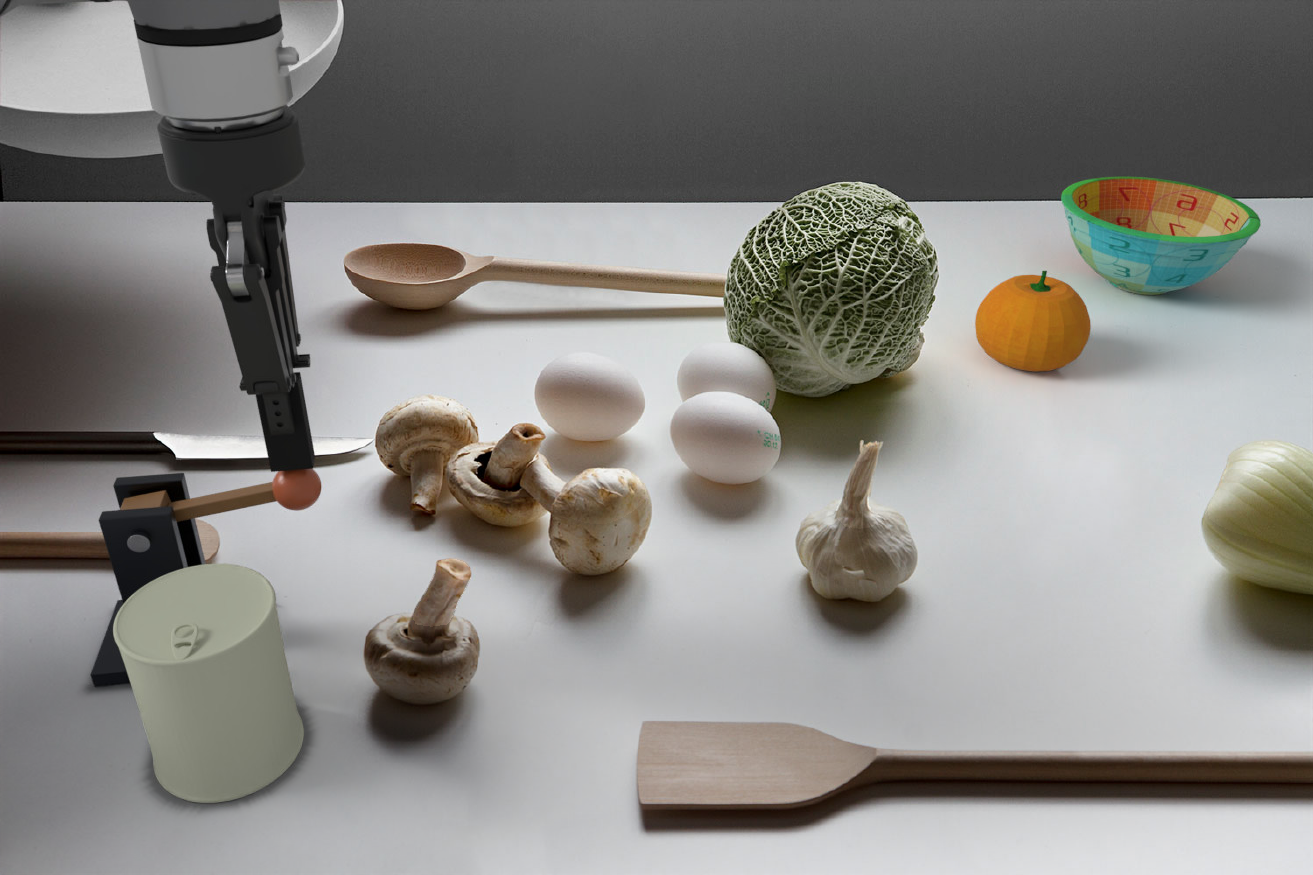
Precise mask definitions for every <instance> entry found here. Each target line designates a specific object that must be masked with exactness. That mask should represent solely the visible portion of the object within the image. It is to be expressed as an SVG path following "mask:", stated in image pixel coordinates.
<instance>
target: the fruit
mask: <svg viewBox="0 0 1313 875" xmlns="http://www.w3.org/2000/svg"><path fill="white" fill-rule="evenodd" d="M1047 273H1048V270H1042V271H1041V275H1039V274H1021V275H1015V276H1013V277H1010V278H1008V279H1006V280H1004V281H1002V282H1000V283H999V284H997V285H996V286H994V287H993V288H992V289H991V290H990V291H989V292H988V293H987V294H986V295H985V297H984V298H983V299H982V301H981V302H980V304H979V306H978V308H977V310H976V314H975V321H974V325H975V336H976V339H977V342H978V344H979V346H980V347H981V348H982V350H983V351H984V353H986V355H988V356H989V357H990V358H992V359H993V360H995V361H996V362H998V363H999V364H1002V365H1004V366H1006V367H1009V368H1012V369H1016V370H1020V371H1026V372H1049V371H1054V370H1058V369H1062V368H1064V367H1066V366H1067V365H1069V364H1071V363H1073V362H1074V361H1076V360H1077V359H1078V358H1079V357H1080V355H1081V354H1082V353H1083V350H1084V349H1085V347H1086V345H1087V344H1088V341H1089V338H1090V336H1091V329H1092V326H1091V319H1090V318H1091V317H1090V314H1089V311H1088V307H1087V305H1086V303H1085V301H1084V300H1083V298H1082V297H1081V295H1080V294H1079V293H1078V292H1077V291H1076V290H1075V288H1073V287H1072V286H1071V285H1070V284H1068V282H1067V283H1066V282H1064V281H1063V280H1060V279H1057V278H1054V277H1050V276H1047Z"/></svg>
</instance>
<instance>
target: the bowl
mask: <svg viewBox="0 0 1313 875" xmlns="http://www.w3.org/2000/svg"><path fill="white" fill-rule="evenodd" d="M1060 196H1061V197H1060V198H1061V199H1060V200H1061V204H1062V206H1063V208H1064V216H1065V219H1066V221H1067V223H1068V228H1069V232H1070V237H1071V239H1072V241H1073V244H1074V246H1075V248H1076V250H1077V252H1078V253H1079V254H1080V257H1081V258H1082V259H1083V261H1084V262H1085V263H1086V264H1087V266H1089V267H1090V268H1091V269H1092V270H1093V271H1094V272H1095V273H1096V274H1098V275H1099V276H1101V277H1102V278H1103V279H1105V280H1106V281H1108V282H1109V283H1110V285H1112V286H1114V287H1115V288H1117V289H1120V290H1122V291H1125V292H1128V293H1133V294H1138V295H1145V296H1146V295H1147V296H1156V295H1163V294H1166V293H1168V292H1173V291H1178V290H1182V289H1185V288H1188V287H1191V286H1194V285H1196V284H1198V283H1200V282H1203V281H1204V280H1206V279H1208V278H1209V277H1212V276H1213V275H1214V274H1216V273H1217V272H1218V271H1220V270H1221V269H1222V268H1223V267H1224V266H1226V265H1227V264H1228V263H1229V262H1230V261H1231V260H1232V259H1233V258H1234V256H1235V255H1236V254H1237V253H1238V252H1239V250H1240V249H1242V248H1243V247H1244V246H1246V244H1247V242H1248V241H1249V240H1250V239H1251V237H1253V235H1255V234H1256V233H1257V232H1258V231H1259V229H1260V228H1261V218H1260V216H1259V214H1258V213H1257V212H1256V211H1254V209H1253V208H1252V207H1250V206H1248V205H1247V204H1245V203H1243V202H1242V201H1240V200H1238V199H1236V198H1235V197H1234V198H1233V197H1231V196H1229V195H1227V194H1224V193H1222V192H1219V191H1216V190H1213V189H1210V188H1206V187H1203V186H1200V185H1195V184H1191V183H1186V182H1181V181H1175V180H1170V179H1161V178H1154V177H1145V176H1103V177H1096V178H1088V179H1085V180H1080V181H1078V182H1074V183H1072V184H1070V185H1069V186H1067V187H1066V188H1065V189H1064V190H1063V191H1062V193H1061V195H1060Z"/></svg>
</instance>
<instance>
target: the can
mask: <svg viewBox="0 0 1313 875" xmlns="http://www.w3.org/2000/svg"><path fill="white" fill-rule="evenodd" d="M113 634H114V639H115V642H116V643H117V645H118V647H119V650H120V653H121V656H122V658H123V661H124V664H125V667H126V670H127V673H128V677H129V680H130V683H131V684H130V686H131V689H132V692H133V695H134V698H135V702H136V704H137V707H138V711H139V715H140V718H141V721H142V725H143V728H144V731H145V734H146V738H147V741H148V744H149V748H150V751H151V755H152V761H153V762H152V765H153V766H152V767H153V771H154V774H155V775H154V776H155V777H156V779H157V781H158V783H159V784H160V785H161V787H162V788H163V789H164V790H165V791H167V792H168V793H169V794H171V795H173V796H174V797H177V798H178V799H182V800H185V801H188V802H191V803H199V804H200V803H201V804H215V803H217V804H218V803H223V802H229V801H234V800H237V799H240V798H244V797H246V796H249V795H251V794H254V793H256V792H258V791H260V790H262V789H264V788H266V787H267V786H269V785H270V784H272V783H273V782H275V781H276V780H277V779H278V778H280V777H281V776H282V775H283V774H284V773H285V772H286V771H287V770H288V769H289V768H290V767H291V765H293V763H294V762H295V761H296V759H297V757H298V756H299V753H300V751H301V749H302V746H303V742H304V737H305V736H304V735H305V728H304V727H305V726H304V723H303V720H302V717H301V715H300V713H299V711H298V706H297V702H296V699H295V694H294V689H293V685H292V679H291V675H290V670H289V664H288V661H287V660H288V659H287V655H286V650H285V646H284V641H283V636H282V630H281V625H280V618H279V613H278V609H277V596H276V592H275V589H274V587H273V584H271V582H270V581H269V580H268V579H267V577H266V576H264V575H263V574H261V573H260V572H258V571H257V570H254V569H252V568H249V567H246V566H243V565H238V564H232V563H206V564H204V565H197V566H192V567H187V568H184V569H180V570H177V571H174V572H171V573H168V574H166V575H163V576H161V577H159V578H157V579H155V580H153V581H151V582H149V583H148V584H146V585H145V586H143V587H142V588H140V589H139V590H138V591H136V592H135V593H134V594H133V595H132V596H130V597H129V598H128V599H127V601H126V602H125V603H124V604H123V605H122V607H121V608H120V610H119V611H118V613H117V615H116V618H115V621H114V626H113Z"/></svg>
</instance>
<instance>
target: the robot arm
mask: <svg viewBox="0 0 1313 875" xmlns="http://www.w3.org/2000/svg"><path fill="white" fill-rule="evenodd" d="M113 1H114V2H116V1H118V2H119V1H120V2H122V1H123V2H127V4H128V7H129V9H130V12H131V15H132V17H133V24H134V29H135V34H136V39H137V44H138V48H139V53H140V59H141V63H142V68H143V71H144V78H145V82H146V87H147V91H148V97H149V102H150V106H151V109H152V110H153V111H154V112H156V113H157V114H158V115H159V116H162V118H160V120H159V123H158V124H157V126H156V127H157V128H156V129H157V132H158V138H159V143H160V148H161V152H162V156H163V160H164V161H163V162H164V165H165V169H166V174H167V178H168V180H169V182H170V183H171V185H172V186H173V187H175V188H176V189H177V190H179V191H181V192H183V193H185V194H189V195H192V196H194V195H198V196H200V197H203V198H205V199H207V200H208V201H210V202H211V204H212V205H211V206H212V215H213V218H207V219H206V223H205V224H206V234H207V238H208V243H209V247H210V248H211V250H213V252H214V253H215V255H216V260H217V264H218V265H212V266H211V268H210V274H209V278H210V281H211V282H212V285H213V288H214V290H215V292H216V294H217V296H218V298H219V300H220V303H221V307H222V309H223V314H224V316H225V320H226V324H227V327H228V331H229V335H230V337H231V342H232V345H233V348H234V349H233V350H234V352H235V355H236V359H237V363H238V366H239V370H240V373H241V379H240V383H239V386H238V387H239V390H240V392H246V394H247V395H248V396H253V395H255V400H256V404H257V409H258V414H259V419H260V425H261V429H262V435H263V438H264V444H265V448H266V453H267V459H268V464H269V468H270V473H275V472H276V473H277V472H278V471H289V470H301V469H314V465H315V459H316V455H315V449H314V443H313V442H314V441H313V438H312V437H313V436H312V431H311V425H310V420H309V415H308V409H307V408H308V407H307V403H306V397H305V391H304V387H303V386H304V385H303V380H302V375H301V371H295V372H294V369H305V368H311V354H310V353H303V354H301V353H300V354H299V353H298V348H299V347H300V345H301V341H302V335H301V333H299V323H298V317H297V310H296V309H297V308H296V301H295V293H294V286H293V279H292V271H291V264H290V263H291V262H290V255H289V248H288V241H287V233H286V225H287V220H288V218H287V212H286V202H285V199H284V198H283V195H282V193H277V194H275V193H273V192H274V191H277V190H280V189H282V188H285V187H287V186H289V185H291V184H292V183H295V181H297V180H299V178H300V177H302V174H304V171H305V168H306V161H305V156H304V149H303V143H302V136H301V130H300V124H299V117H298V113H296V112H295V111H294V110H293V109H292V108H291V107H290V106H288V104H289V103H290V102H291V100H293V98H294V93H293V87H292V81H291V80H292V79H291V74H290V68H289V66H295V65H297V64H298V63H299V62H300V54H299V52H298V51H297V49H296V48H295V47H293V46H285V47H284V46H283V42H282V41H283V40H284V38H285V36H284V31H283V25H284V24H283V18H282V14H281V7H280V0H0V18H1V17H3V16H5V15H6V14H8V13H10V12H11V11H13V10H14V9H16V8H18V7H19V6H24V5H40V4H42V5H43V4H45V5H46V4H65V3H90V2H91V3H92V2H93V3H111V2H113Z"/></svg>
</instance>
